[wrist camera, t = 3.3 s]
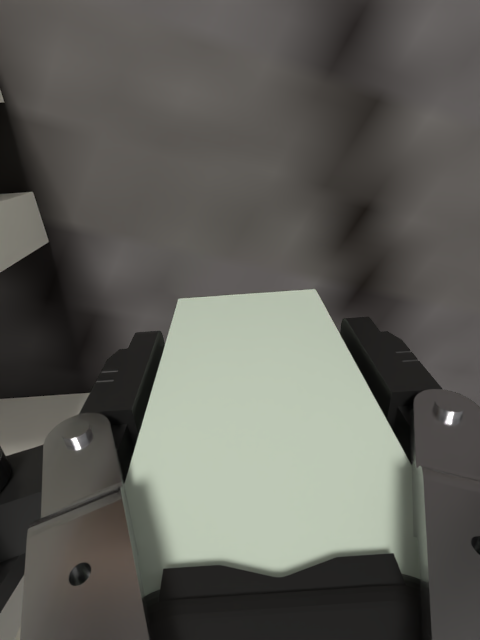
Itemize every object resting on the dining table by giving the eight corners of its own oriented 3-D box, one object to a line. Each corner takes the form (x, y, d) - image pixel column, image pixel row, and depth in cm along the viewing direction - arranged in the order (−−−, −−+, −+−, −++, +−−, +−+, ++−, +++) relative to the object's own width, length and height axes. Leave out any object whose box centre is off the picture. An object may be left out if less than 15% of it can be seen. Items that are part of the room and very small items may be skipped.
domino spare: (178, 298, 13) (76, 649, 4) (315, 289, 13) (496, 620, 4) (184, 336, 14) (107, 700, 5) (313, 327, 14) (464, 677, 5)
